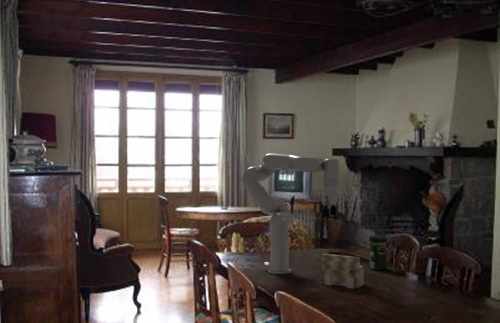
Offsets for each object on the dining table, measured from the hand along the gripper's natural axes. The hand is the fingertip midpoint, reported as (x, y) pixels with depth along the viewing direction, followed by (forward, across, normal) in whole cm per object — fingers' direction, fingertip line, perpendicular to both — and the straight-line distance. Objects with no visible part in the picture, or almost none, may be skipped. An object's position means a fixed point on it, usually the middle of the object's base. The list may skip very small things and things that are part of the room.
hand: (329, 216), depth 272 cm
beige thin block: (+31, +14, +12) cm, 36 cm away
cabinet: (+31, +12, +12) cm, 35 cm away
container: (+32, -3, +2) cm, 32 cm away
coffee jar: (+31, -33, +16) cm, 48 cm away
